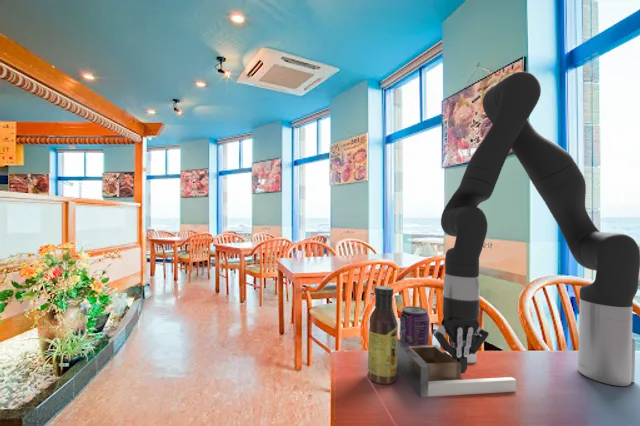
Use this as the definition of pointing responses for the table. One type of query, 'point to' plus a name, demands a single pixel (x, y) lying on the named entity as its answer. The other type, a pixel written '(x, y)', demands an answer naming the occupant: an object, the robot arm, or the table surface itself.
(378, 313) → the sauce bottle
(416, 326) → the beverage can
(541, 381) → the table surface
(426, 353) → the crate
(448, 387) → the bay
